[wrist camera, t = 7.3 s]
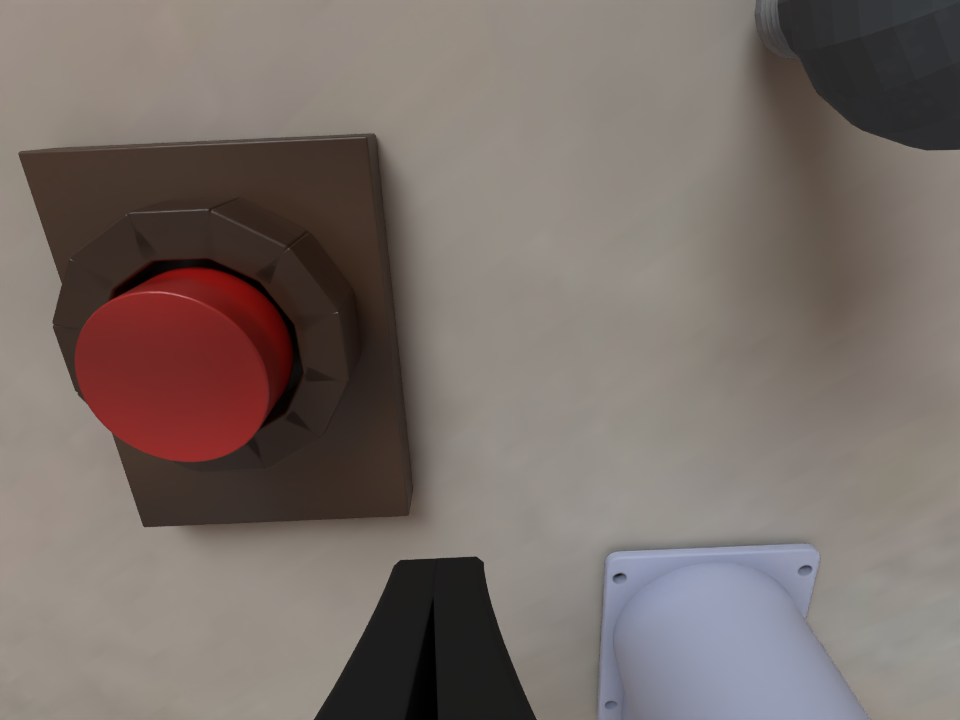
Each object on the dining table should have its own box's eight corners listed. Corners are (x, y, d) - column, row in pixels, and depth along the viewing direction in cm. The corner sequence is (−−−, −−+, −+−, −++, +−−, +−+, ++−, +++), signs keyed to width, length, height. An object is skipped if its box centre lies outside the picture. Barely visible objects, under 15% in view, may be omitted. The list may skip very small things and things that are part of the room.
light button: (306, 416, 16) (283, 459, 14) (149, 423, 16) (105, 467, 14) (278, 262, 15) (248, 286, 13) (102, 270, 15) (45, 295, 13)
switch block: (413, 489, 21) (402, 558, 18) (164, 500, 21) (109, 571, 18) (376, 133, 16) (352, 140, 13) (54, 147, 16) (-48, 158, 13)
